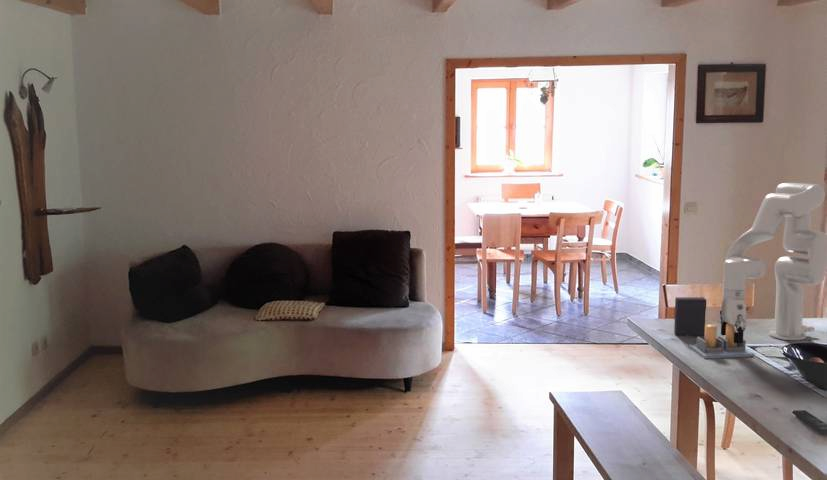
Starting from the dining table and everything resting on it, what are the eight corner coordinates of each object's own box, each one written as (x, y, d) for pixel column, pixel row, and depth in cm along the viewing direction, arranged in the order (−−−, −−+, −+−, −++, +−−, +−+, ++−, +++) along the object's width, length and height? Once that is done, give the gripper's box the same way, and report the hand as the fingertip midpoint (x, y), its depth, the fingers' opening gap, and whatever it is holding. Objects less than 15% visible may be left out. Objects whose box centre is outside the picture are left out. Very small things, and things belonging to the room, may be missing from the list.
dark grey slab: (701, 333, 280) (703, 296, 278) (705, 336, 276) (706, 299, 273) (673, 333, 281) (674, 296, 279) (676, 336, 277) (677, 299, 274)
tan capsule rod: (733, 346, 259) (734, 323, 258) (739, 350, 255) (740, 326, 254) (723, 347, 259) (724, 323, 257) (728, 350, 255) (729, 326, 253)
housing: (735, 345, 263) (736, 319, 262) (753, 356, 251) (755, 329, 249) (688, 347, 263) (689, 321, 261) (704, 358, 250) (705, 331, 248)
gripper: (756, 298, 245) (754, 345, 248) (732, 287, 262) (730, 331, 265) (735, 299, 245) (733, 346, 247) (712, 288, 262) (710, 332, 265)
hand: (731, 338), depth 256 cm, fingers open, 9 cm apart
